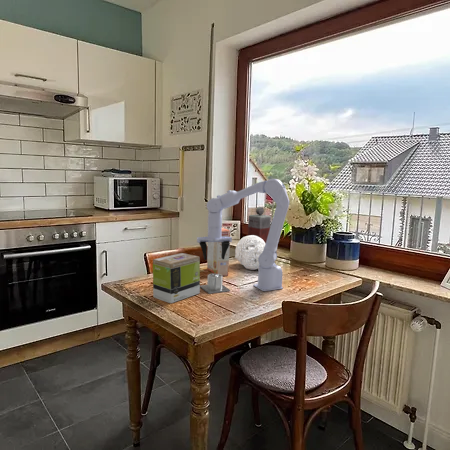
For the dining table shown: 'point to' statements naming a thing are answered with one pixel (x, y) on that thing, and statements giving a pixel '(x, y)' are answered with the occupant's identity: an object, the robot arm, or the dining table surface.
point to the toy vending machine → (259, 224)
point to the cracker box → (218, 256)
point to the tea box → (176, 277)
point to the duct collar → (214, 282)
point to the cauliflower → (249, 251)
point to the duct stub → (224, 289)
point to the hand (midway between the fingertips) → (214, 259)
